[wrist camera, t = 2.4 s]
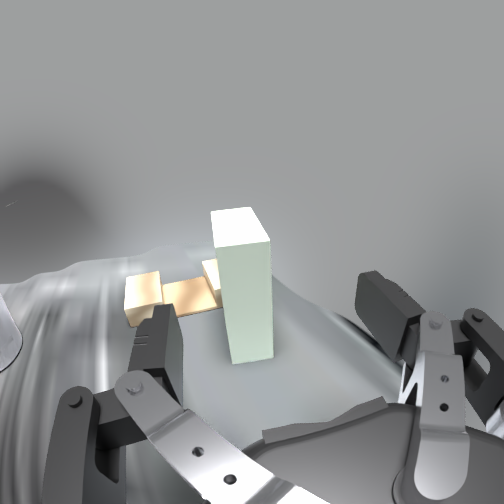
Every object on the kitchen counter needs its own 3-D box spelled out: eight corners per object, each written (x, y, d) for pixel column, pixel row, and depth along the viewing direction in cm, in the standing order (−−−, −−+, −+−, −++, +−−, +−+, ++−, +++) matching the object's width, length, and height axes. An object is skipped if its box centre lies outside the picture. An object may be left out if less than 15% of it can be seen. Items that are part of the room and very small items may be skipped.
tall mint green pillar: (232, 364, 23) (215, 247, 18) (223, 310, 30) (210, 211, 25) (273, 357, 23) (270, 240, 18) (256, 305, 30) (250, 207, 26)
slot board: (130, 327, 28) (124, 309, 26) (131, 293, 34) (126, 277, 32) (253, 299, 31) (252, 281, 30) (235, 271, 37) (233, 255, 36)
